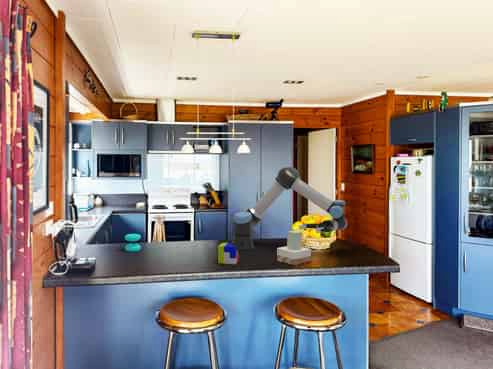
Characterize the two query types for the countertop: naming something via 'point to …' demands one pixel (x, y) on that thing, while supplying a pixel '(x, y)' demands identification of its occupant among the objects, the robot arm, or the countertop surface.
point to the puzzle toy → (228, 253)
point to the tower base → (293, 260)
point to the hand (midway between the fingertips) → (307, 229)
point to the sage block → (294, 240)
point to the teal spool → (132, 246)
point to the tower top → (293, 252)
